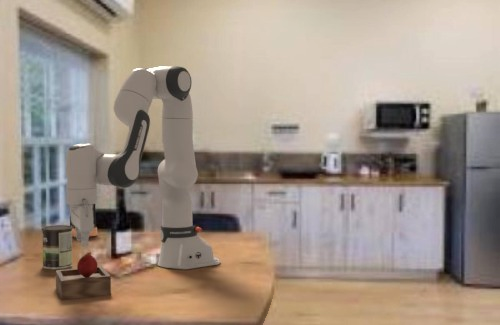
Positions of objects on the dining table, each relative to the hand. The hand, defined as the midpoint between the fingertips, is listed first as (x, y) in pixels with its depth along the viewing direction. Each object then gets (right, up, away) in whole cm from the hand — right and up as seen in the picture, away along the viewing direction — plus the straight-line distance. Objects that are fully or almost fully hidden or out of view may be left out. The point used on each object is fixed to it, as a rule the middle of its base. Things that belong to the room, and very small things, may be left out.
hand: (82, 243), depth 176 cm
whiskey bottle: (-27, -10, +97) cm, 101 cm away
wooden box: (0, -15, +1) cm, 15 cm away
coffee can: (-19, -13, +34) cm, 41 cm away
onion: (+1, -11, 0) cm, 11 cm away
